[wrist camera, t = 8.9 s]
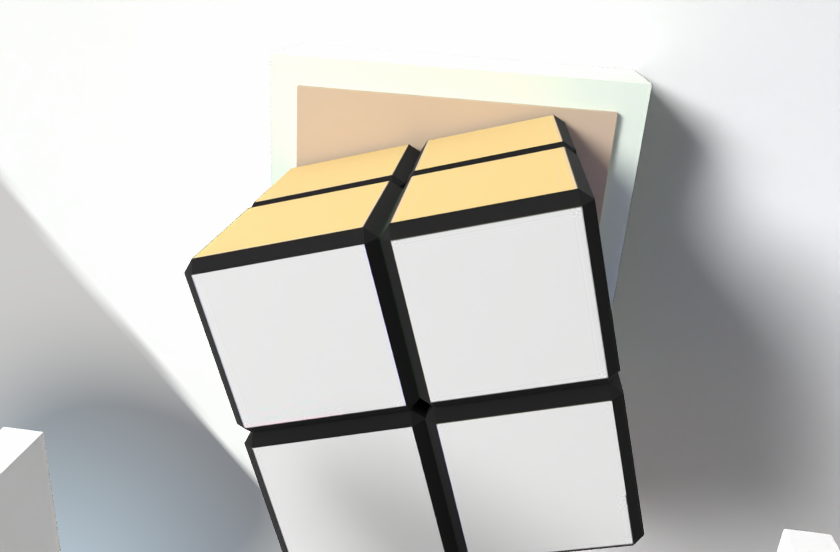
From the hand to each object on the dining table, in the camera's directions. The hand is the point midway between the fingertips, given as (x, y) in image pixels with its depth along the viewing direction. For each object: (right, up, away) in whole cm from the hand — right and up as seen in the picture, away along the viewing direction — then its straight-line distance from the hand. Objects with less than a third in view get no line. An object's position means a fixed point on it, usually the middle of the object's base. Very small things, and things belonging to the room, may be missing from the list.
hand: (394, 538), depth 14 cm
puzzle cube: (+2, +5, +15) cm, 16 cm away
